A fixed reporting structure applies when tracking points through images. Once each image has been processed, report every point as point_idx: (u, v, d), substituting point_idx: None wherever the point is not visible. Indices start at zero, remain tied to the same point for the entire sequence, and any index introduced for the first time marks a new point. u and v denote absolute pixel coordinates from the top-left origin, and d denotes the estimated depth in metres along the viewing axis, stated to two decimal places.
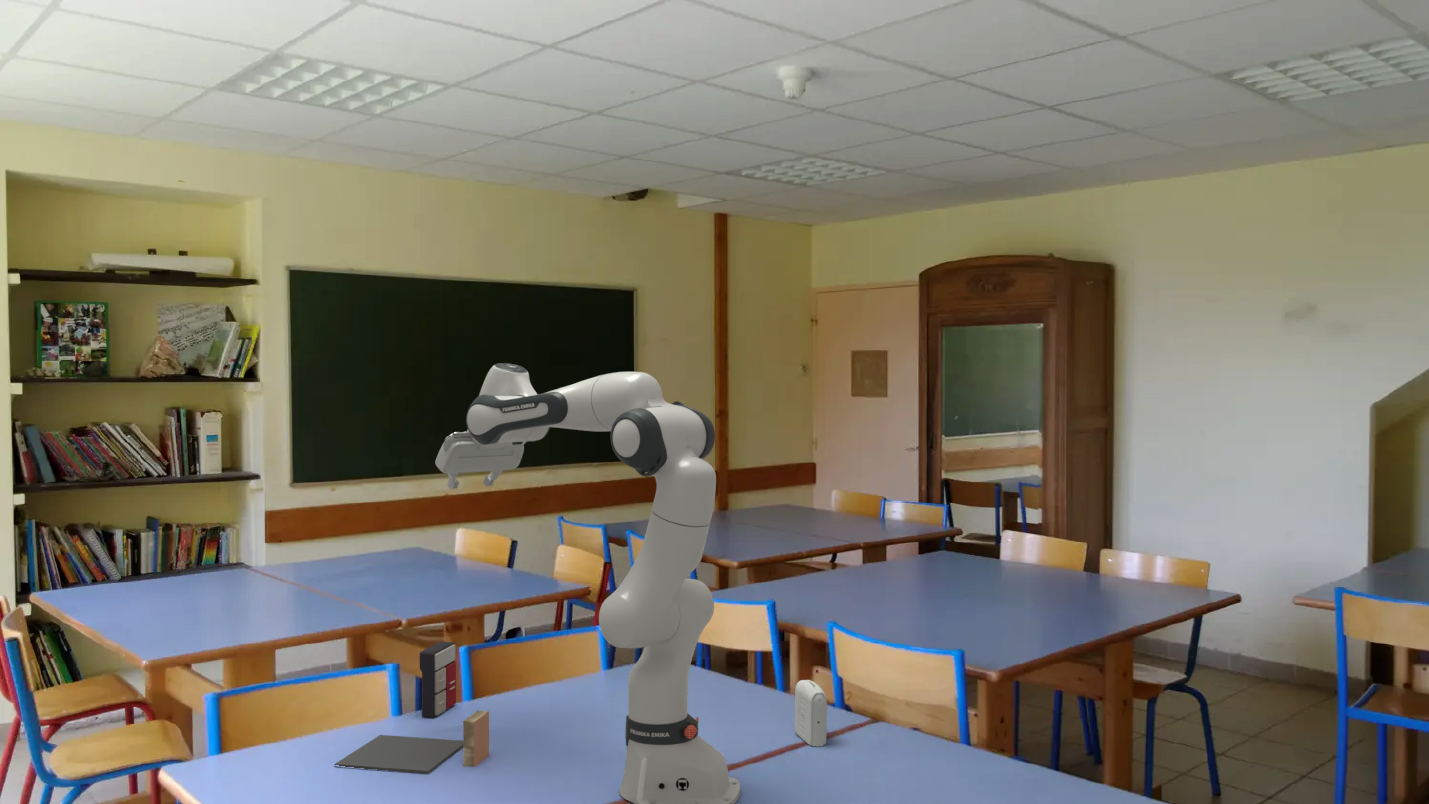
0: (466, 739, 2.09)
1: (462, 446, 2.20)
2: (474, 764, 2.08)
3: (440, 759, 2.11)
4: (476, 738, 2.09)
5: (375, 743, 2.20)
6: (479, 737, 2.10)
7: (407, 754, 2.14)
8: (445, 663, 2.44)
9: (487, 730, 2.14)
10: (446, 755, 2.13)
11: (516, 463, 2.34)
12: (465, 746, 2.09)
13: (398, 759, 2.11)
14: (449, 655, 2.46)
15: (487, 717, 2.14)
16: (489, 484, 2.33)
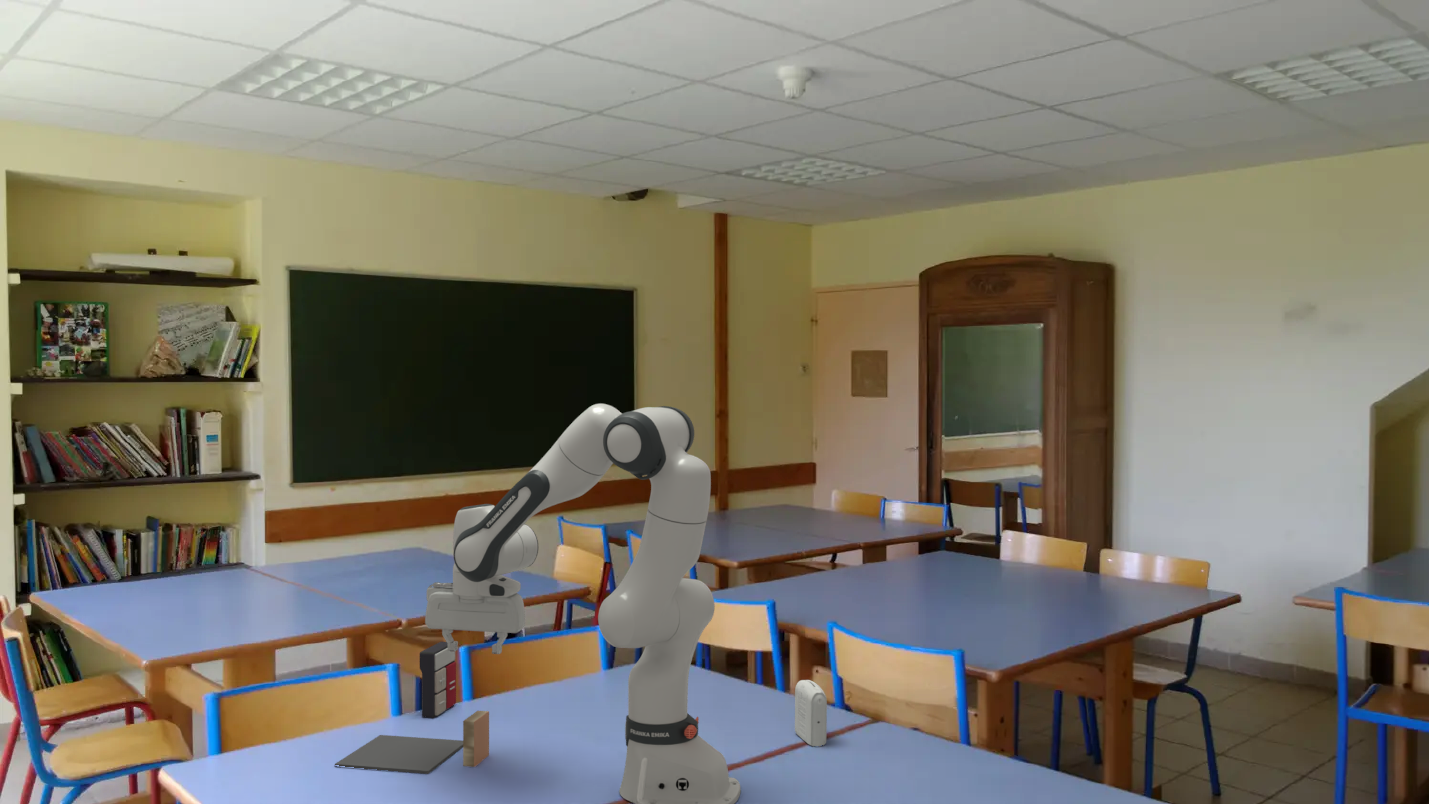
0: (466, 739, 2.09)
1: (438, 596, 2.12)
2: (474, 764, 2.08)
3: (440, 759, 2.11)
4: (476, 738, 2.09)
5: (375, 743, 2.20)
6: (479, 737, 2.10)
7: (407, 754, 2.14)
8: (445, 663, 2.44)
9: (487, 730, 2.14)
10: (446, 755, 2.13)
11: (513, 624, 2.09)
12: (465, 746, 2.09)
13: (398, 759, 2.11)
14: (449, 655, 2.46)
15: (487, 717, 2.14)
16: (493, 650, 2.11)
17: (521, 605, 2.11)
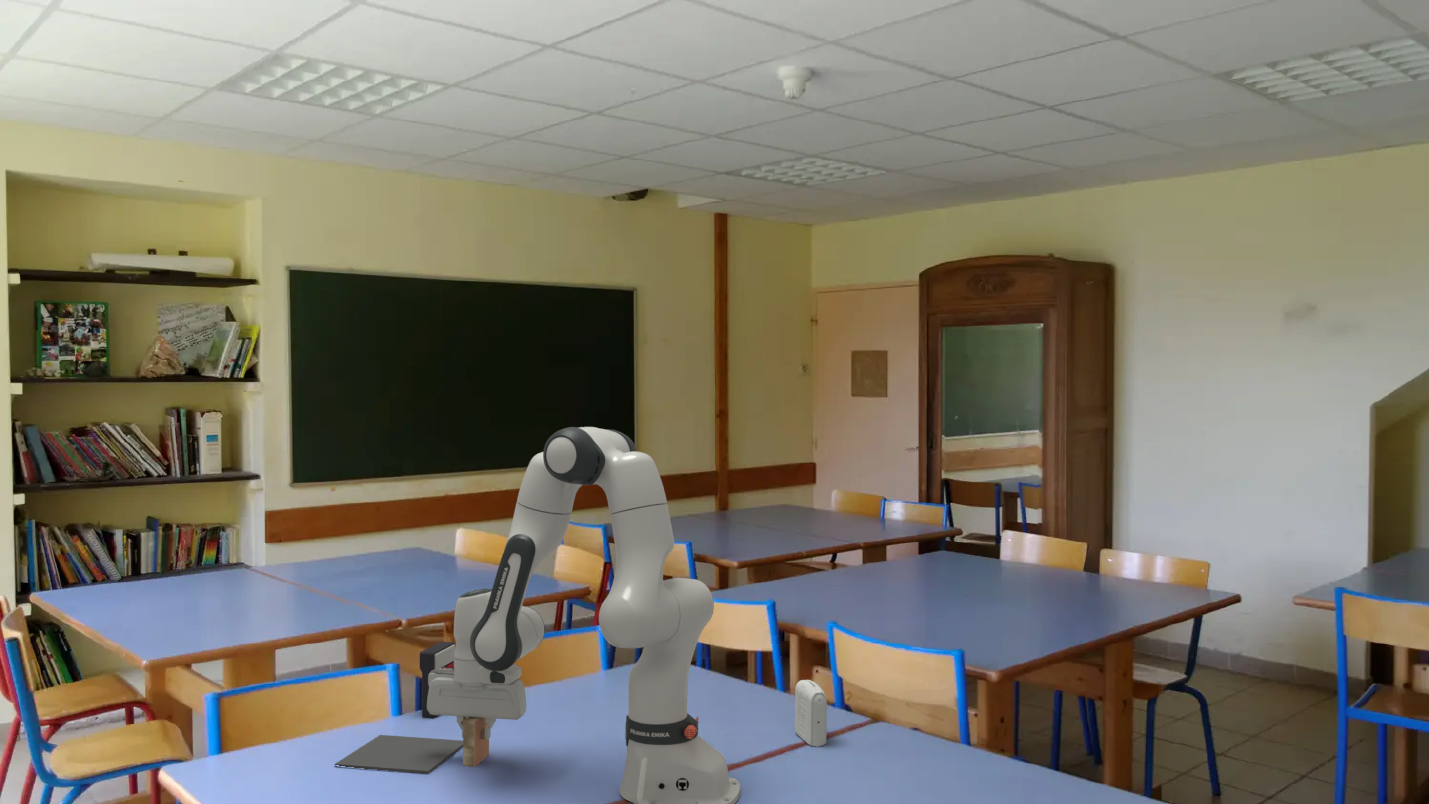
0: (466, 739, 2.09)
1: (439, 682, 2.11)
2: (474, 764, 2.08)
3: (440, 759, 2.11)
4: (476, 738, 2.09)
5: (375, 743, 2.20)
6: (479, 737, 2.10)
7: (407, 754, 2.14)
8: (445, 663, 2.44)
9: None
10: (446, 755, 2.13)
11: (514, 711, 2.08)
12: (465, 746, 2.09)
13: (398, 759, 2.11)
14: (449, 655, 2.46)
15: None
16: (482, 736, 2.11)
17: (522, 691, 2.11)
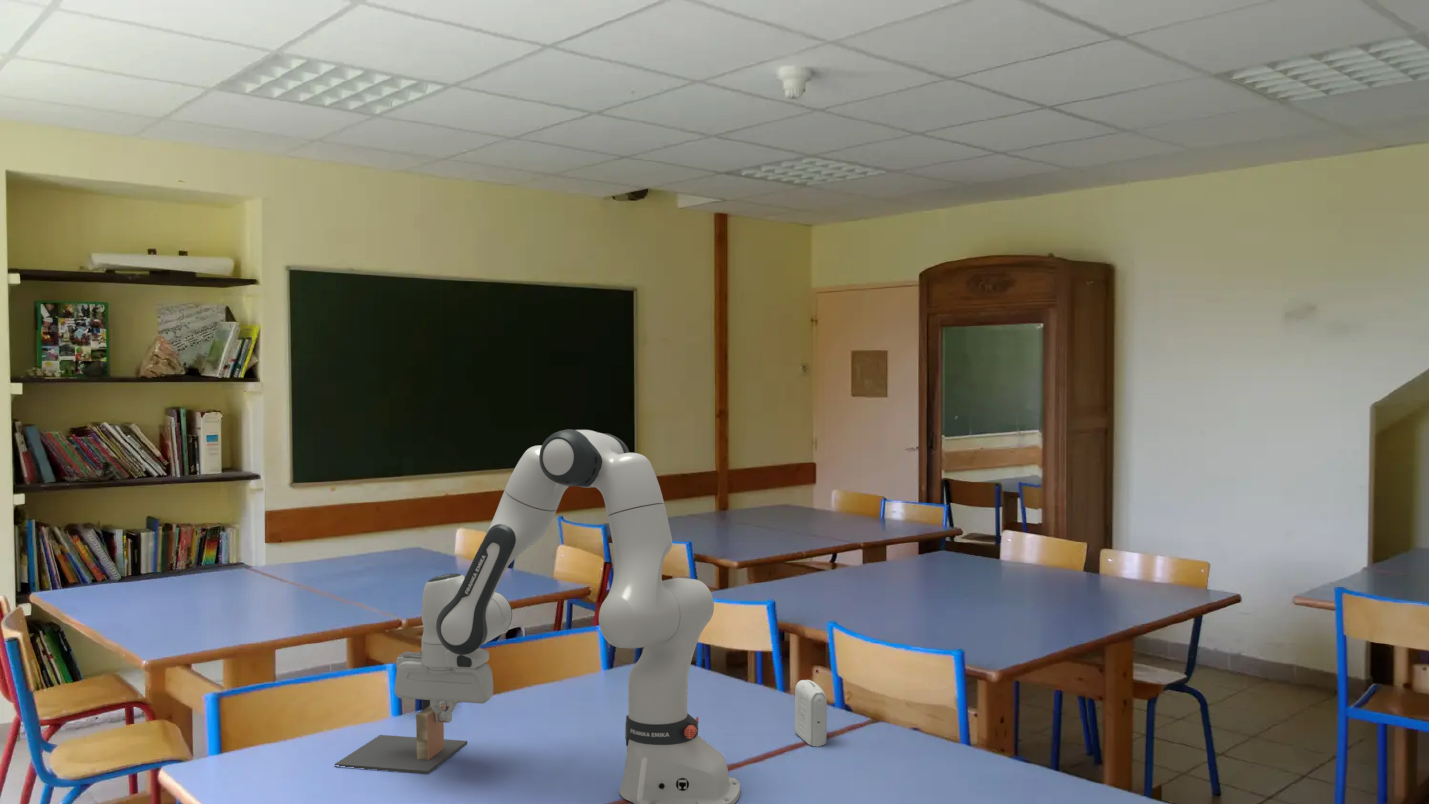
0: (419, 732, 2.11)
1: (407, 665, 2.13)
2: (427, 757, 2.10)
3: (440, 759, 2.11)
4: (429, 731, 2.11)
5: (375, 743, 2.20)
6: (433, 730, 2.12)
7: (407, 754, 2.14)
8: None
9: (441, 724, 2.16)
10: (446, 755, 2.13)
11: (481, 694, 2.10)
12: (419, 740, 2.11)
13: (398, 759, 2.11)
14: None
15: None
16: (443, 719, 2.13)
17: (489, 675, 2.12)
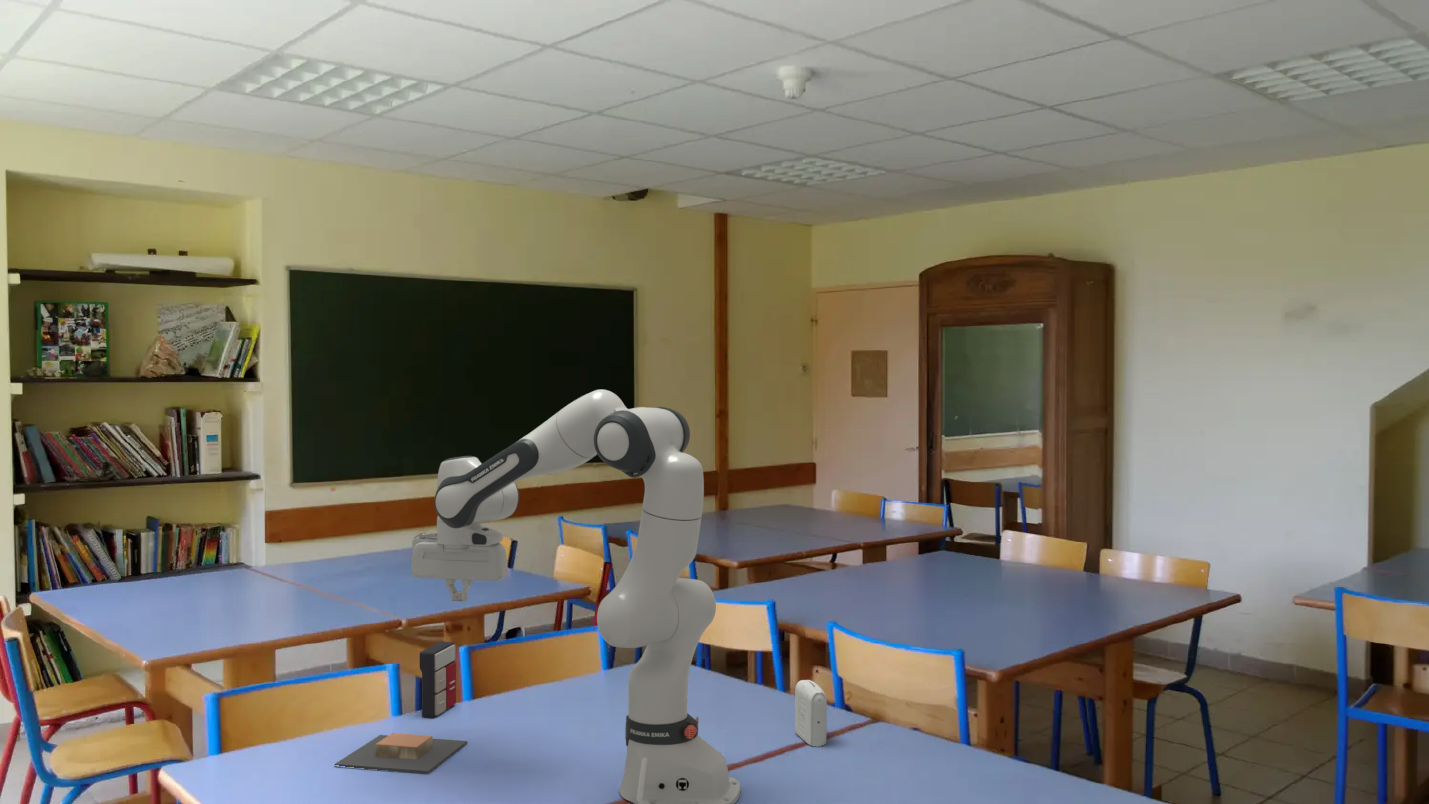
0: (392, 754, 2.12)
1: (423, 546, 2.17)
2: (414, 747, 2.11)
3: (440, 759, 2.11)
4: (393, 744, 2.12)
5: (375, 743, 2.20)
6: (398, 741, 2.14)
7: None
8: (445, 663, 2.44)
9: (407, 735, 2.18)
10: (446, 755, 2.13)
11: (495, 572, 2.14)
12: (398, 755, 2.11)
13: (398, 759, 2.11)
14: (449, 655, 2.46)
15: (394, 734, 2.18)
16: (459, 598, 2.17)
17: (503, 554, 2.16)
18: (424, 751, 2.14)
